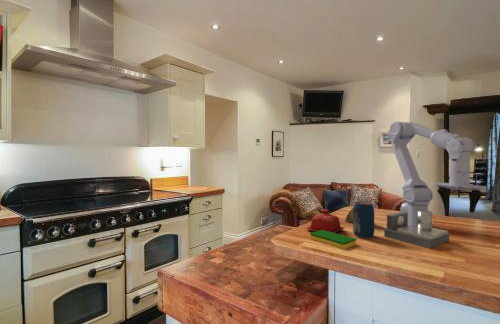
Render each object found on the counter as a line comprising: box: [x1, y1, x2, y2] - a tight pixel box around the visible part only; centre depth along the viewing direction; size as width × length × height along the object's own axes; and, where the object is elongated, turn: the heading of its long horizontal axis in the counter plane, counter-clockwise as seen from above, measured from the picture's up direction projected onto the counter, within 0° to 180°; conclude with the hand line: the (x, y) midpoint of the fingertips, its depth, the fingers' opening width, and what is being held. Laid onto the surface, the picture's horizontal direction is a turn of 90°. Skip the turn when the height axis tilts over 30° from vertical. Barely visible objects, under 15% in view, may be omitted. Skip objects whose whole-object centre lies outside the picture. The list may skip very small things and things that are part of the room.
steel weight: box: [417, 210, 434, 231], centre depth 95 cm, size 4×4×6 cm
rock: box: [345, 200, 375, 225], centre depth 120 cm, size 11×9×10 cm
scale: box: [383, 212, 450, 249], centre depth 97 cm, size 15×13×8 cm
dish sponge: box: [309, 230, 357, 250], centre depth 94 cm, size 7×14×2 cm, turn 37°
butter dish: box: [305, 208, 346, 233], centre depth 107 cm, size 12×12×8 cm
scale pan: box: [397, 224, 449, 240], centre depth 95 cm, size 12×11×1 cm
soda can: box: [352, 201, 375, 239], centre depth 100 cm, size 7×7×12 cm
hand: (459, 210), depth 98 cm, fingers open, 7 cm apart
